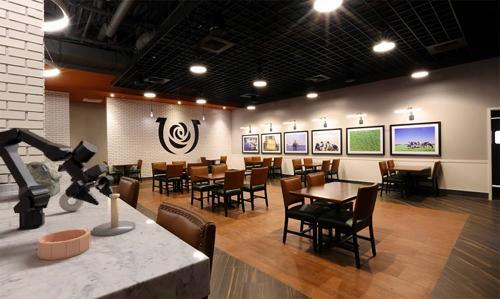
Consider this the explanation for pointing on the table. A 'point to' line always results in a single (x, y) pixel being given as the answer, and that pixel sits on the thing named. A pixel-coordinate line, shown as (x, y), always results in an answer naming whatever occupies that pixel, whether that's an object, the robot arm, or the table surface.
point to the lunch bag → (45, 175)
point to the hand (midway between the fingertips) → (106, 201)
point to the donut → (69, 207)
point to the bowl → (64, 244)
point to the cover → (114, 222)
